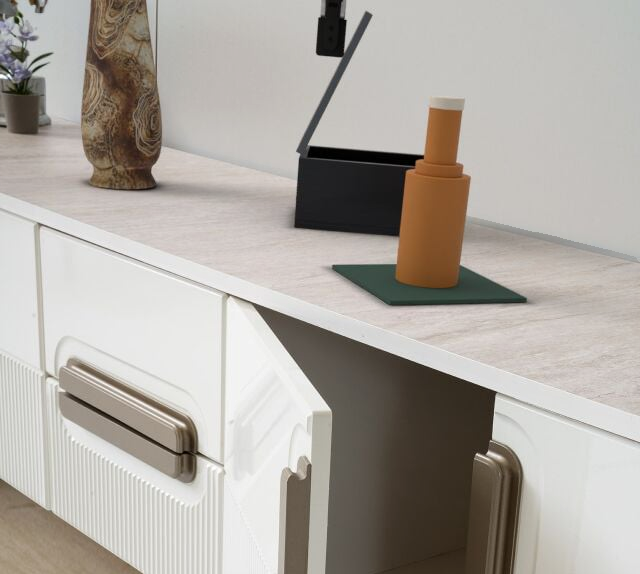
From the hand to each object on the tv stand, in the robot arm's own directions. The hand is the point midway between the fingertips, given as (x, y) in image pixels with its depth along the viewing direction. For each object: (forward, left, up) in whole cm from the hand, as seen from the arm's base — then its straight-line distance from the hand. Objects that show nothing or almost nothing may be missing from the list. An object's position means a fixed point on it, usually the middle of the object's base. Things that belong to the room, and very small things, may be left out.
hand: (329, 55), depth 128 cm
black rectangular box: (-5, +2, -19) cm, 19 cm away
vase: (+19, -23, -19) cm, 35 cm away
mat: (+1, +32, -19) cm, 37 cm away
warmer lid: (-1, 0, -3) cm, 3 cm away
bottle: (+1, +32, -18) cm, 37 cm away
